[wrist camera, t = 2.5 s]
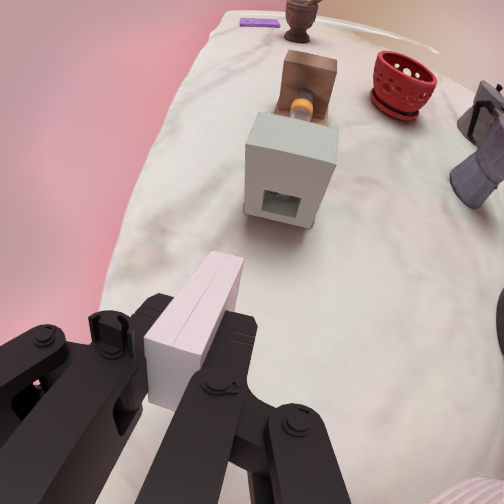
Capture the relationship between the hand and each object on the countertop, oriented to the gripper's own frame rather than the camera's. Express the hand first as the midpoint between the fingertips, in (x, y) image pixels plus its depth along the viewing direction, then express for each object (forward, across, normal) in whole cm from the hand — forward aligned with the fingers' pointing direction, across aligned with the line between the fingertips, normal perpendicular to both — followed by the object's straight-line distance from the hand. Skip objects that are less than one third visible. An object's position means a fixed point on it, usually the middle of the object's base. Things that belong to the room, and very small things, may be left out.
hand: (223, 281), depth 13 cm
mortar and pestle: (+69, -1, +43) cm, 81 cm away
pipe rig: (+33, +2, +7) cm, 34 cm away
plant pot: (+49, +21, +23) cm, 58 cm away
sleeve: (+23, +2, 0) cm, 23 cm away
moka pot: (+36, +36, +10) cm, 52 cm away
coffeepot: (+51, +46, +26) cm, 74 cm away
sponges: (+76, -16, +50) cm, 93 cm away
